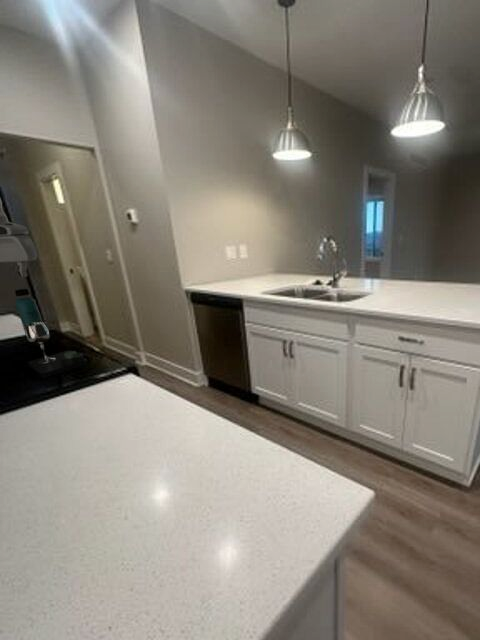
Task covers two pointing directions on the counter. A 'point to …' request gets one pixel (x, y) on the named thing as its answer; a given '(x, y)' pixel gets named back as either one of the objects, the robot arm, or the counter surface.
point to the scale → (57, 364)
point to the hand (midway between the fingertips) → (9, 277)
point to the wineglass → (38, 337)
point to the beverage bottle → (27, 308)
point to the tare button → (70, 354)
